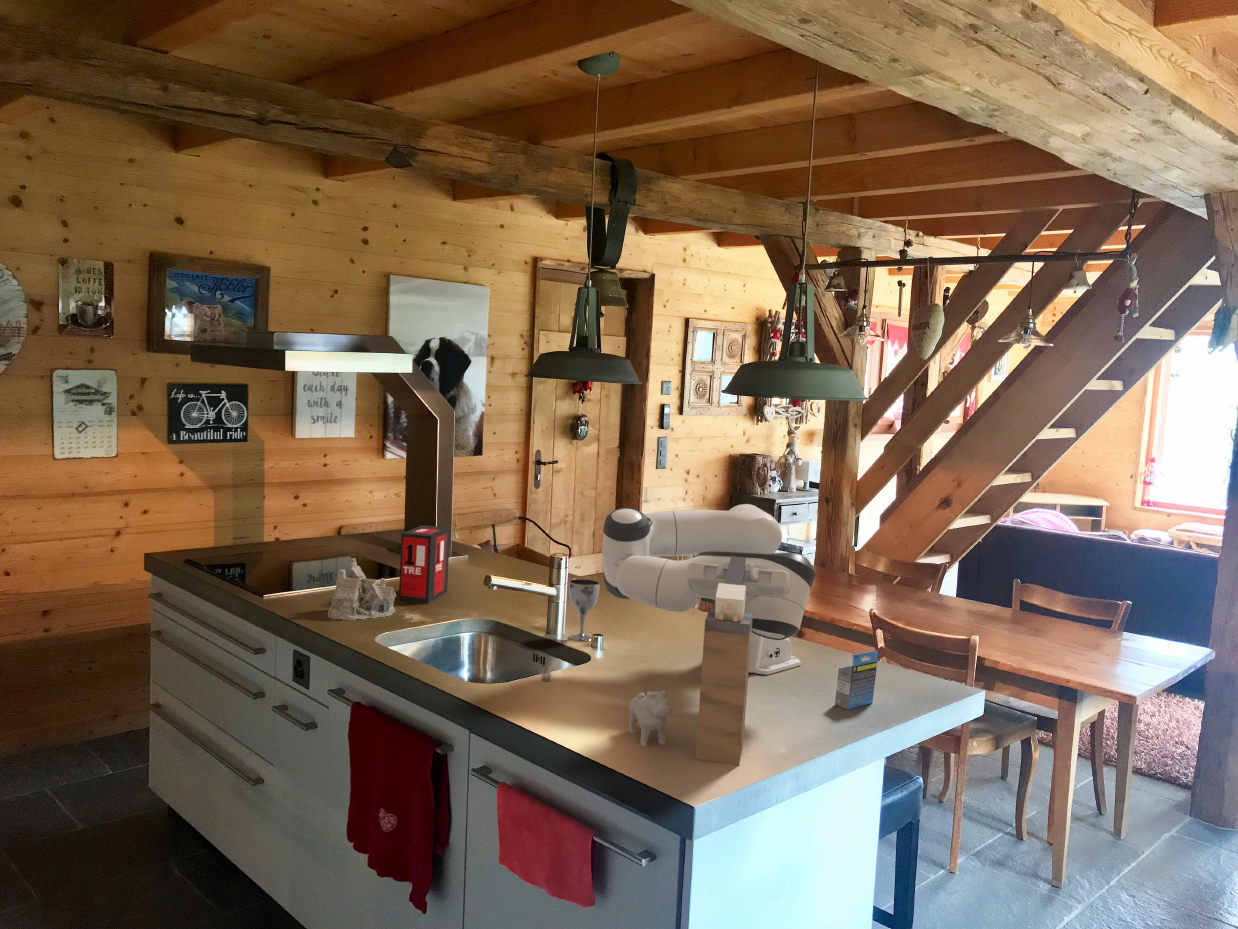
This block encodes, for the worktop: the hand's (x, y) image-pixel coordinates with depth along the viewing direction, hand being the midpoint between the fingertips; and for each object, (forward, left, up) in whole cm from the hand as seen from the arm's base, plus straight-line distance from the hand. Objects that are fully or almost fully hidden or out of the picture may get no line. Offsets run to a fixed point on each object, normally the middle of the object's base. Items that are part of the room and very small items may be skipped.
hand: (736, 566), depth 184 cm
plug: (+3, +3, -4) cm, 7 cm away
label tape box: (-38, -1, -34) cm, 51 cm away
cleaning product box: (+12, -125, -34) cm, 130 cm away
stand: (+7, +7, -33) cm, 35 cm away
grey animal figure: (+15, -4, -34) cm, 37 cm away
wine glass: (-9, -69, -34) cm, 78 cm away
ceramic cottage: (+35, -112, -34) cm, 122 cm away
